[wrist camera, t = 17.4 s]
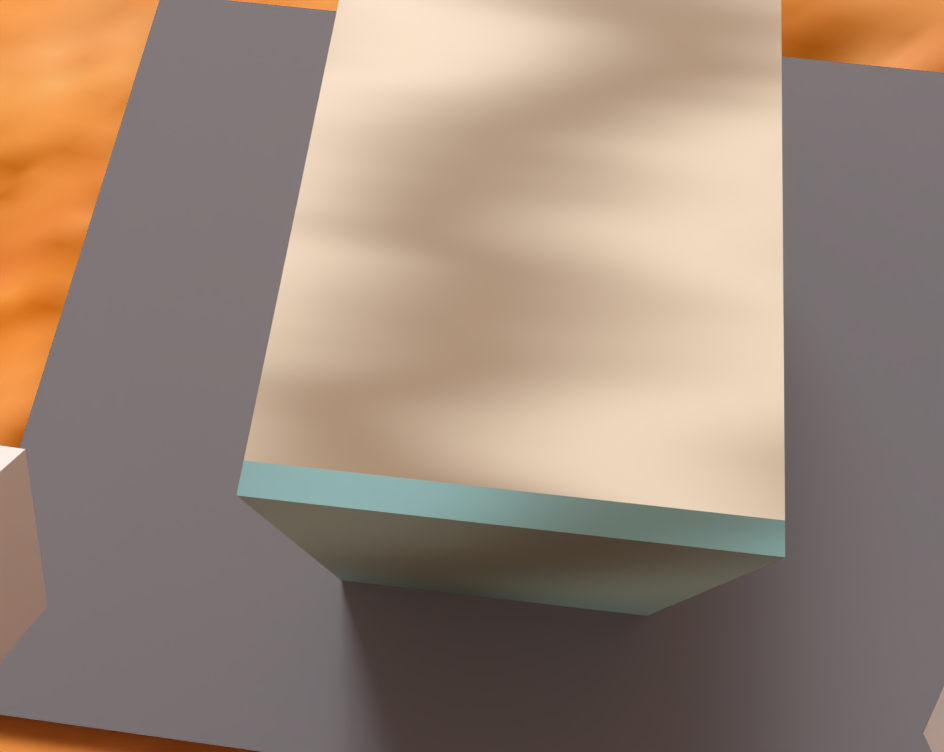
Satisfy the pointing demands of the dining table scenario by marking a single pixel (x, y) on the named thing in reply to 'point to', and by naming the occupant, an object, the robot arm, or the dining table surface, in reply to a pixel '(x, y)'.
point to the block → (535, 303)
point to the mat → (448, 614)
